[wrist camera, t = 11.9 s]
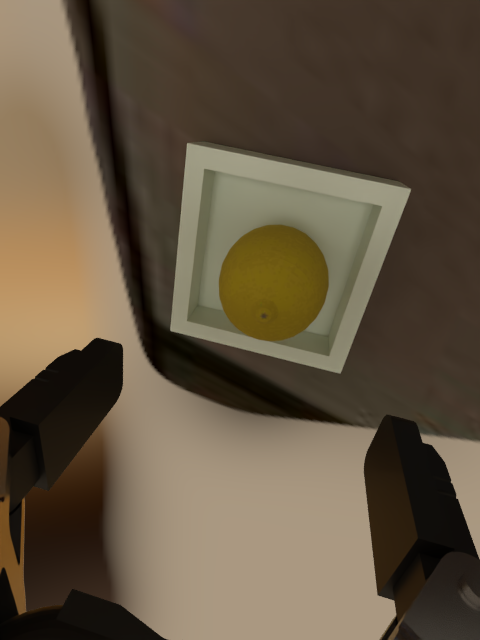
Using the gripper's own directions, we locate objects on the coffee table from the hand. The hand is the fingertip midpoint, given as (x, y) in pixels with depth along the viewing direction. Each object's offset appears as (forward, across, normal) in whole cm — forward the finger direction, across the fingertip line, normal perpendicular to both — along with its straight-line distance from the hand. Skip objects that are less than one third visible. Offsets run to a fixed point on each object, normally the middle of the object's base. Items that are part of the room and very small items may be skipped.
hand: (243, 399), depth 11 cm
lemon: (+13, 0, 0) cm, 13 cm away
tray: (+14, +1, 0) cm, 14 cm away
